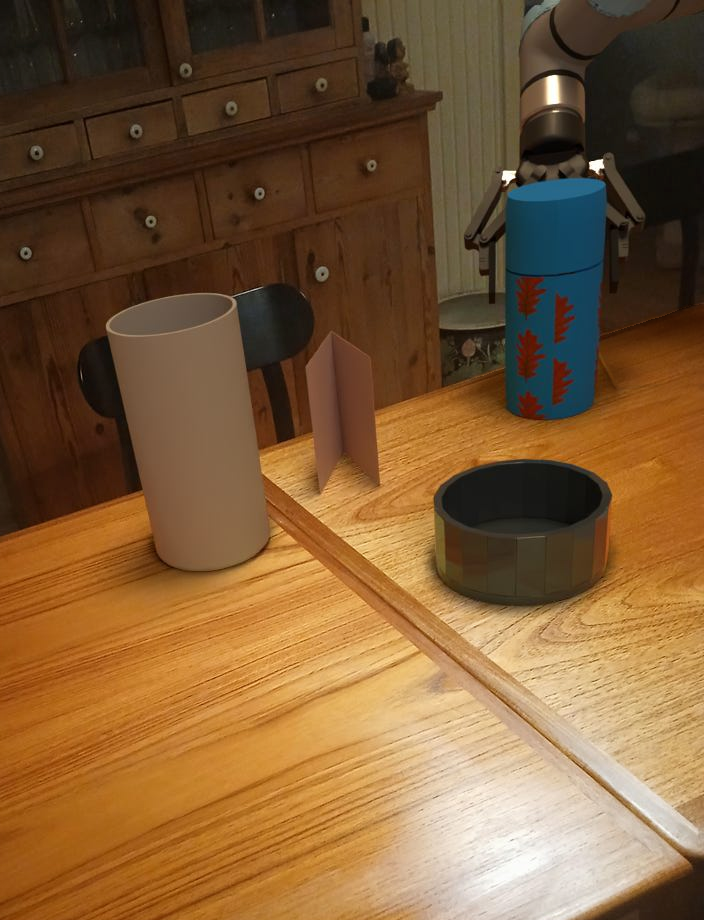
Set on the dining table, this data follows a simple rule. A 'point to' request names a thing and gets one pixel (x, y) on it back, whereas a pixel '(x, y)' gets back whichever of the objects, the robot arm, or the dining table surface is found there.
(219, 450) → the cylinder vase
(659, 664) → the dining table surface
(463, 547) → the faceted round dish
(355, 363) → the greeting card
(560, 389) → the thermos
